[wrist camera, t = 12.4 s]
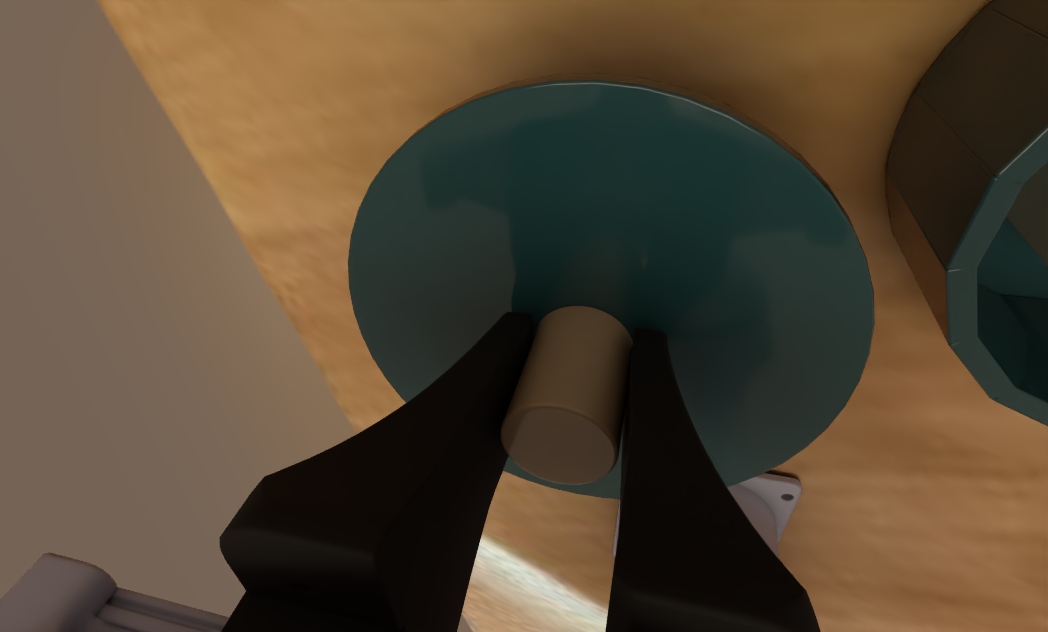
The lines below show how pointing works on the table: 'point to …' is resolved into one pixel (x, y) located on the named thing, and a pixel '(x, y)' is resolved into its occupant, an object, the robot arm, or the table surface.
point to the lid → (616, 270)
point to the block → (1033, 212)
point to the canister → (980, 198)
